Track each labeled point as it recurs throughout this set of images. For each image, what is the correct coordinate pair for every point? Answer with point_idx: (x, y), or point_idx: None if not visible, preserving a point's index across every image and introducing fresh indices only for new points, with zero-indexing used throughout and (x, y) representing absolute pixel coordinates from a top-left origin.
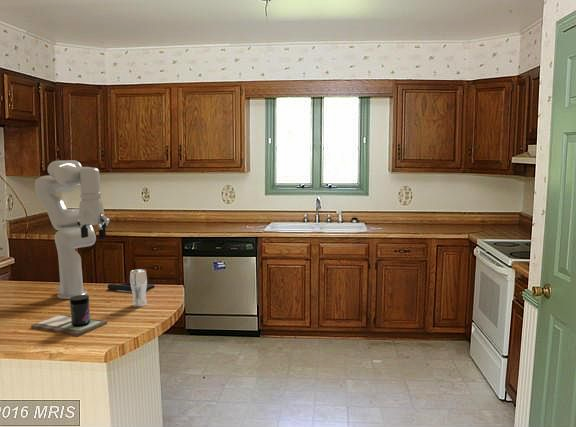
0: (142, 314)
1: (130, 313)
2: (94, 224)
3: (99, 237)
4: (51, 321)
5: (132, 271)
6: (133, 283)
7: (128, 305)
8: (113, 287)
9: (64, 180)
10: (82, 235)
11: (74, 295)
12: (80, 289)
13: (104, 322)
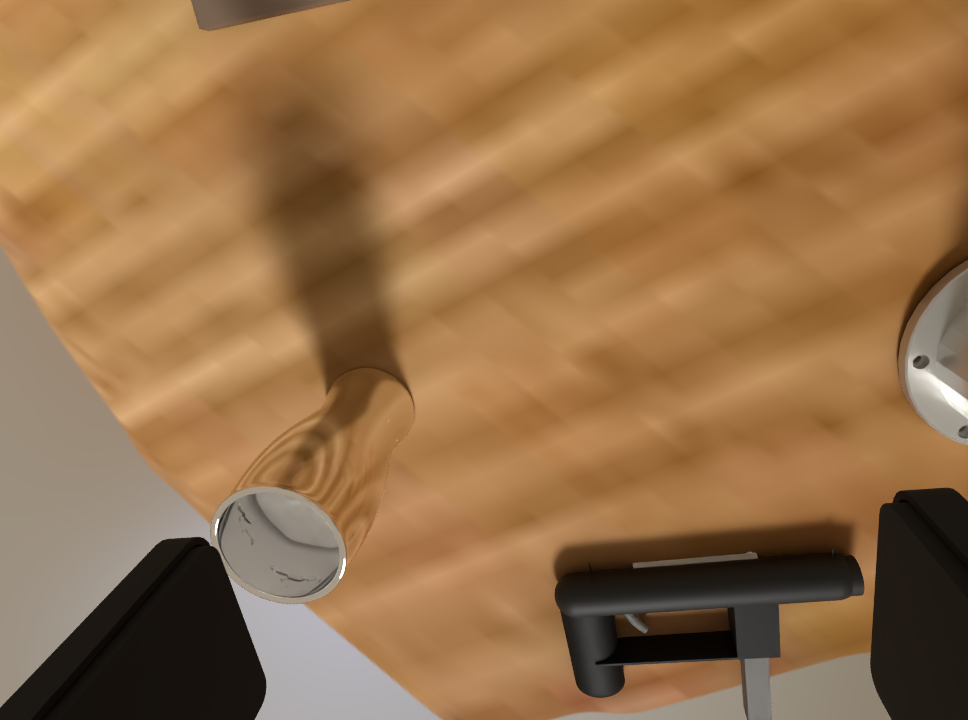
0: (194, 280)
1: (269, 258)
2: None
3: (162, 559)
4: None
5: (343, 537)
6: (294, 434)
7: (418, 365)
8: (794, 563)
9: None
10: (936, 544)
11: (953, 315)
12: (956, 382)
13: (192, 1)
